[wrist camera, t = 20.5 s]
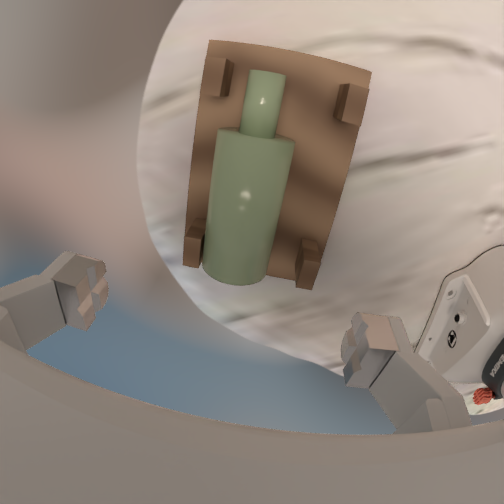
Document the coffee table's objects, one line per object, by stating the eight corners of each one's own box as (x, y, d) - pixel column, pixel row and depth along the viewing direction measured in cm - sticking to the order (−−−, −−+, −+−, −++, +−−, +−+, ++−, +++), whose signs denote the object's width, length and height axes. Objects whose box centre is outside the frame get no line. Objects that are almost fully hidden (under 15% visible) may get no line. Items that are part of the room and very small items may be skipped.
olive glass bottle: (279, 275, 28) (324, 84, 19) (223, 292, 24) (259, 67, 16) (243, 244, 32) (273, 76, 23) (191, 254, 28) (213, 65, 20)
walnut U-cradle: (312, 277, 33) (315, 308, 28) (186, 253, 33) (171, 280, 28) (368, 72, 22) (386, 69, 17) (212, 41, 22) (197, 31, 17)
